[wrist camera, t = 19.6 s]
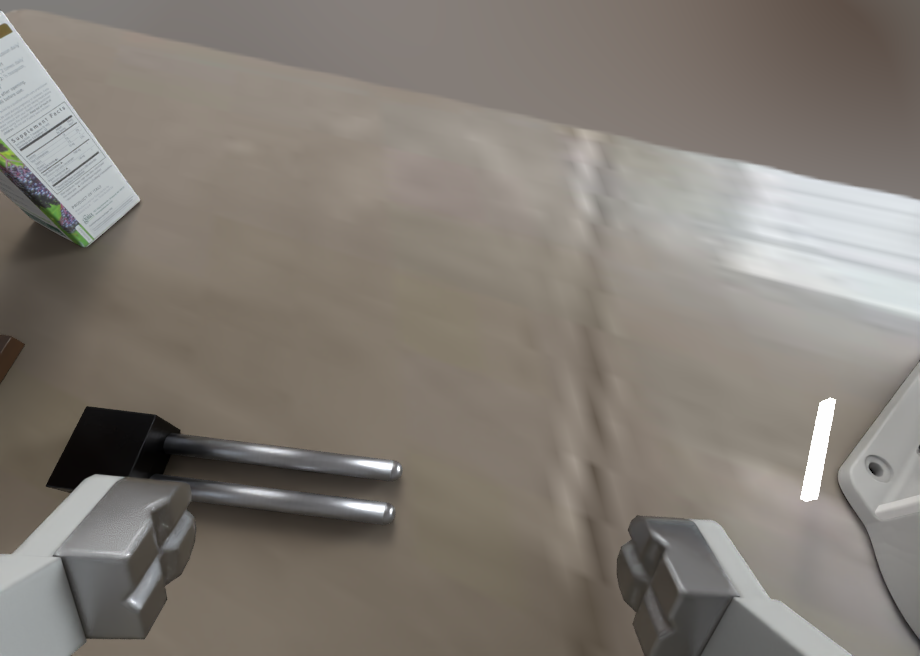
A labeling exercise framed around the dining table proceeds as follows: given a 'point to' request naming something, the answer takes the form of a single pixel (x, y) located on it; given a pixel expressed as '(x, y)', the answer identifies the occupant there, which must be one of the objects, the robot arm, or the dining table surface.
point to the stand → (8, 353)
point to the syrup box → (53, 152)
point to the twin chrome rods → (153, 441)
